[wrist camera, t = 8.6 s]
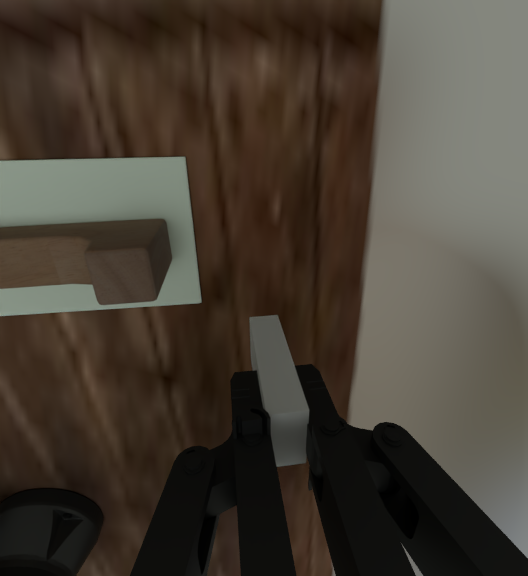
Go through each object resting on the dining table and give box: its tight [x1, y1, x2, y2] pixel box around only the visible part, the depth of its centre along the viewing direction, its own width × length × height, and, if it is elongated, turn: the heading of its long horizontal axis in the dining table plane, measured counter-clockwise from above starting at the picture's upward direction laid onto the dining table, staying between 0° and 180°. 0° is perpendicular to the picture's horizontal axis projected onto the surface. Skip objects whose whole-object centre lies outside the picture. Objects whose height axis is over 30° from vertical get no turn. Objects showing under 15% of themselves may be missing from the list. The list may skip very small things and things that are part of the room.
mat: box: [0, 157, 202, 316], centre depth 32 cm, size 21×15×1 cm
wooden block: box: [0, 219, 172, 305], centre depth 27 cm, size 9×4×18 cm
